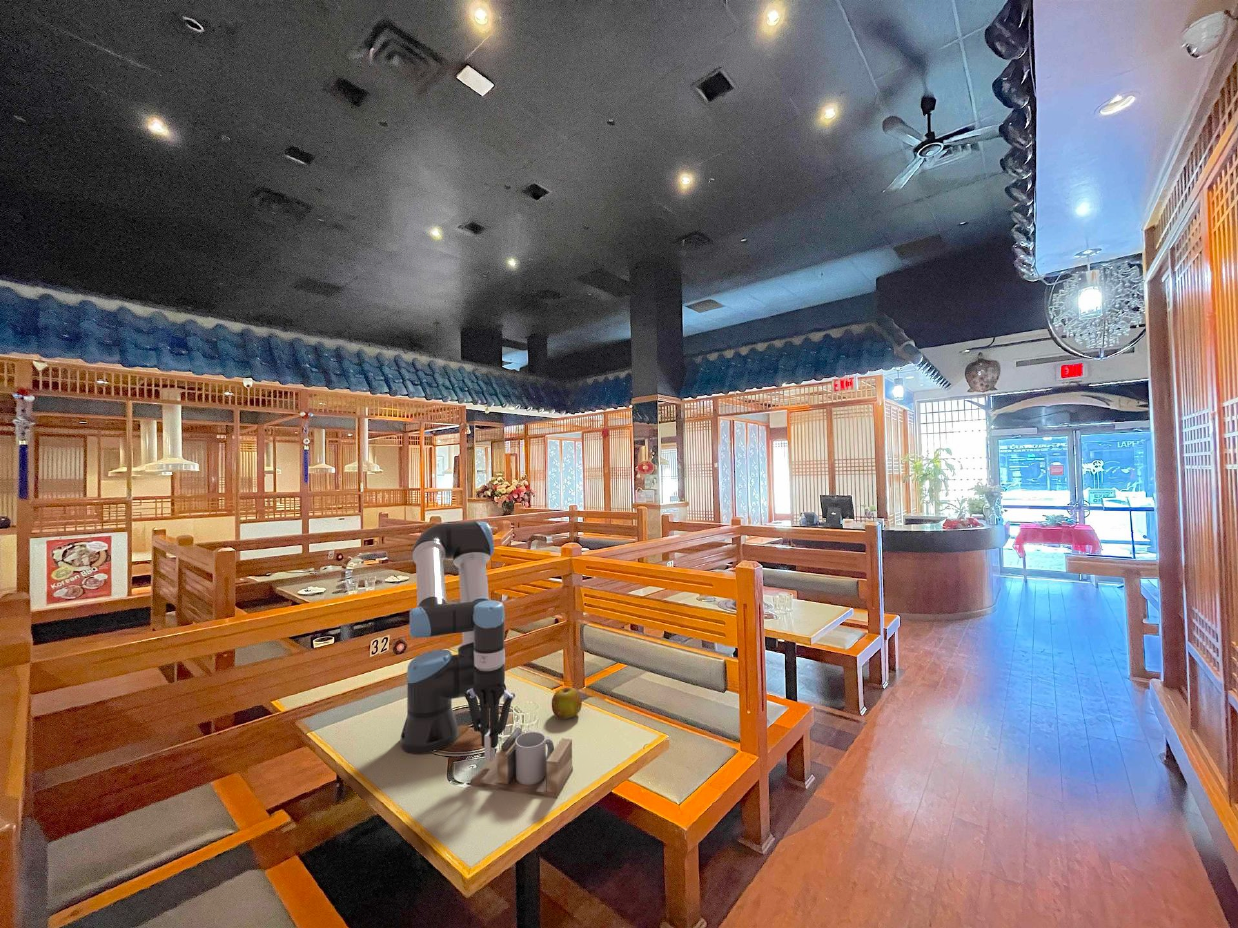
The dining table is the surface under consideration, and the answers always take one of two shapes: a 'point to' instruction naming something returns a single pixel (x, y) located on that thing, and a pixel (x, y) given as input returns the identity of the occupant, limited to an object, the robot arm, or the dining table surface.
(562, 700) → the fruit
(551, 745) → the cup
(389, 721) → the dining table surface
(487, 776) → the base
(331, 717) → the dining table surface
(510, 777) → the block
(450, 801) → the dining table surface
